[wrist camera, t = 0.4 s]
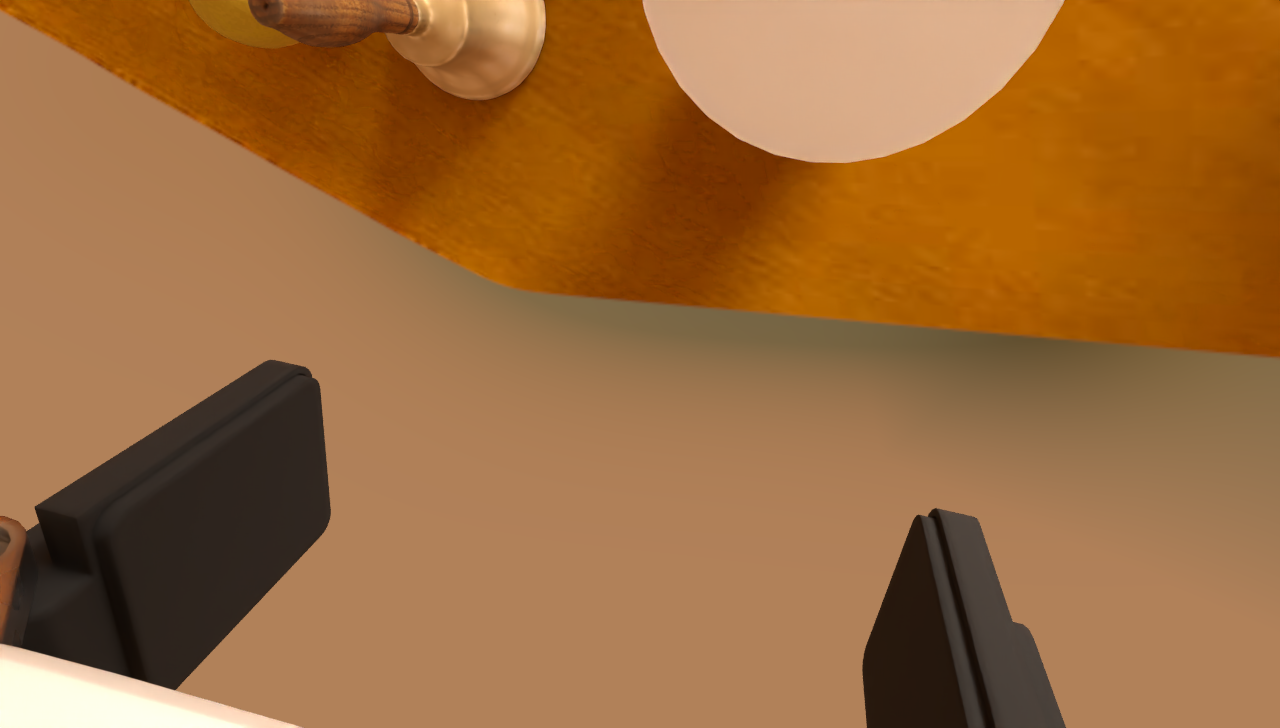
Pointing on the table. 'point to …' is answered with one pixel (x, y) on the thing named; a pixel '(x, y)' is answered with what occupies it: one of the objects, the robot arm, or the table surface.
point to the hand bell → (427, 35)
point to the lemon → (239, 23)
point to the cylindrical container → (844, 67)
